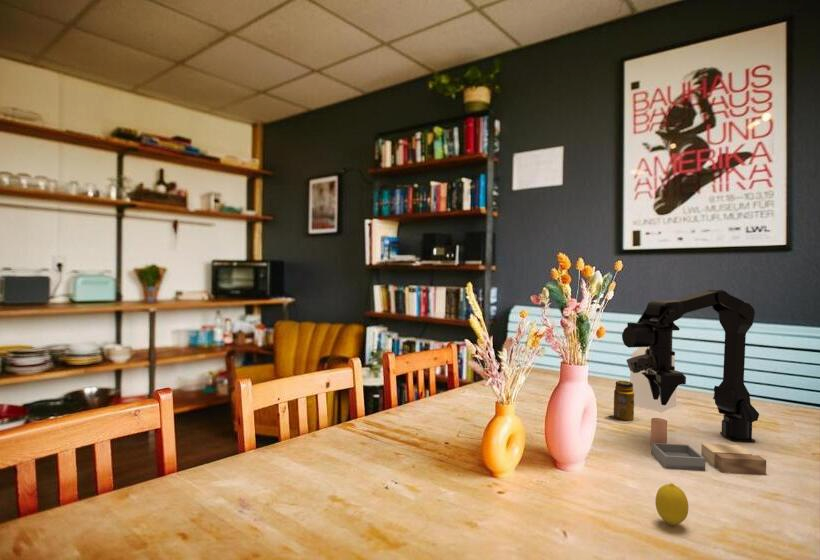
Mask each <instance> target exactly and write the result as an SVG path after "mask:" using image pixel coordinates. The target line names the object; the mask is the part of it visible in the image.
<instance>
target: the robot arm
mask: <svg viewBox="0 0 820 560" xmlns="http://www.w3.org/2000/svg"><path fill="white" fill-rule="evenodd" d="M709 307H710V308H711V309H712V310H713V311H714V312H716V313H717V314H718V319H719V324H720V325H721V327H722V329H723V331H724V349H723V350H724V351H723V353H724V354H723V373H722V374H723V376H722V381H721V382H720V384H719V385H714V387H713V391H714V392H713V398H712V399H713V400H714V404H715V406H716V407H717V409H718V413H719V414H722V415H723V419H722V420H721V431H720V434H721V435H722V436H723V437H724V438H726V439H728V440H730V441H731V442H744V443H745V442H747V443H755V442H756V439H754V438H753V423H754V422H757V421H758V419H759V417H760V413H759V412H758V411H757V409H756V408H755V407H754V406H753V405H752V403H751V394H750V392H749V390H748V388H747V387H746V385H745V361H746V360H745V359H746V357H745V356H746V339H747V333H748V332H749V330H750V329H751V328H752V326H753V324H754V319H755V314H756V313H755V311H756V310H755V308H754V307H753V306H752V305H751V303H749V302H745V301H744V300H742V299H740V298H738V297H736V296H733V295H731V294H730V293H728V292H727V291H725V290H724V289H714V288H713V289H707V290H706V291H702V292H700V293H695V294H691V295H688V296H685V297H684V296H683V297H681V298H677V299H669V300H667V299H665V300H664V299H662V300H651V301H650V302H648V303H647V305H646V309H645V310H644V311H643V313H642V315H641V316H640V317H639V319H638V320H637V322H631V321H630V322H627V326H626V327H625V328H624V329H623V331H622V333H621V339H622V342H623V344H624V346H626V347H627V348H639V347H649V348H647V350H645V354H644V355H639V356H636V357H633V358H632V357H631V358H628V359H625V361H626V363H627V366H628V369H629V371H630V372H631V371H632V372H633V373H638V372H640V371H643V370H644V372H642V374H643V375H644V376H645V377H646V378H647V379H648V381H649V385H650V388H651V392H652V396H653V399H654V400H658V398H659V395H660V400H661V405H666V404H667V402H668V401H669V399H670V397H671V396H672V394H673V392H674V391H675V389H677V388H678V387H679V386H680V385H687V376H686V375H685V374H684V373H682V372H680V371H678V370H676V366H675V367H674V366H672V355H673V356H674V357H675V356H676V352H675V351H674V350H673V332H675V331H680V329H681V328H680V327H679V326H677V325H676V324H675V322H676V321H678V320H680V319H681V318H682V317H683V316H684V315H685V314H688V313H691V312H695V311H699V310H701V309H706V308H709ZM672 370H674V371H672Z"/></svg>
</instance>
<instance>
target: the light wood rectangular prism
mask: <svg viewBox="0 0 820 560" xmlns="http://www.w3.org/2000/svg"><path fill="white" fill-rule="evenodd" d="M700 444H701V445H700V446H701V447H700V451H701V452H700V454H701V455H702V456H703V457H704V458H705V459H706V462H705V463H707V464H708V465H709V464H710V465H709V466H710V467H712V468H715V453H720V454H740V455H753V454H752V453H751V452H749V451H748V450H746V449H745V448H744V447H742V446H740V445H739V444H722V443H721V444H720V443H700Z"/></svg>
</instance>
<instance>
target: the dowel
mask: <svg viewBox="0 0 820 560" xmlns="http://www.w3.org/2000/svg"><path fill="white" fill-rule="evenodd" d="M651 443H663V444H668V420H667V419H664V418H661V417H652V418H650V444H651Z"/></svg>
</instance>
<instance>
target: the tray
mask: <svg viewBox="0 0 820 560" xmlns="http://www.w3.org/2000/svg"><path fill="white" fill-rule="evenodd" d="M650 445H651V447H650V448H651V451H650V452H651V453H650V454H651V456H653V458H654V459H655V460H656V461H657V462H658V463H659V464H660V466H662V467H663V468H664V469H666V470H669V469H670V470H683V471H685V470H686V471H687V470H688V471H703V472H704V471H705V472H706V463H707V462H706V459H705V458H704V457H703V456H702V455H701V453H699V452H698V451H697V450H695V449H694V448H693V447H692V446H690V445H689V444H684V443H683V444H680V443H679V444H678V443H667V444H663V443H651V442H650Z"/></svg>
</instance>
